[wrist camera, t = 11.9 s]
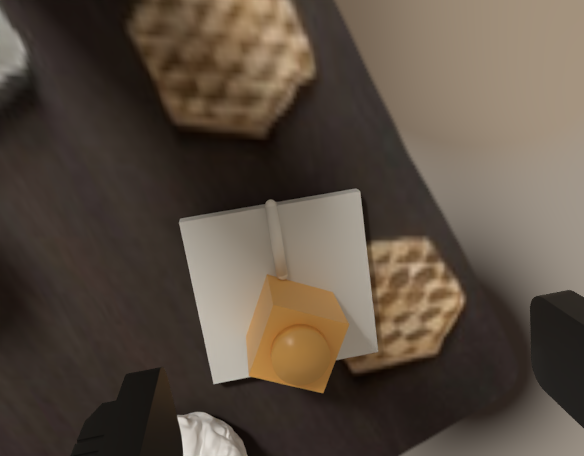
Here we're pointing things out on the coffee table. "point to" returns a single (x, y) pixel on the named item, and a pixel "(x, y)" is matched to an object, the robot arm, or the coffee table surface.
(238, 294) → the plate
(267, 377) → the domed orange cube
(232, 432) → the bust
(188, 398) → the coffee table surface
